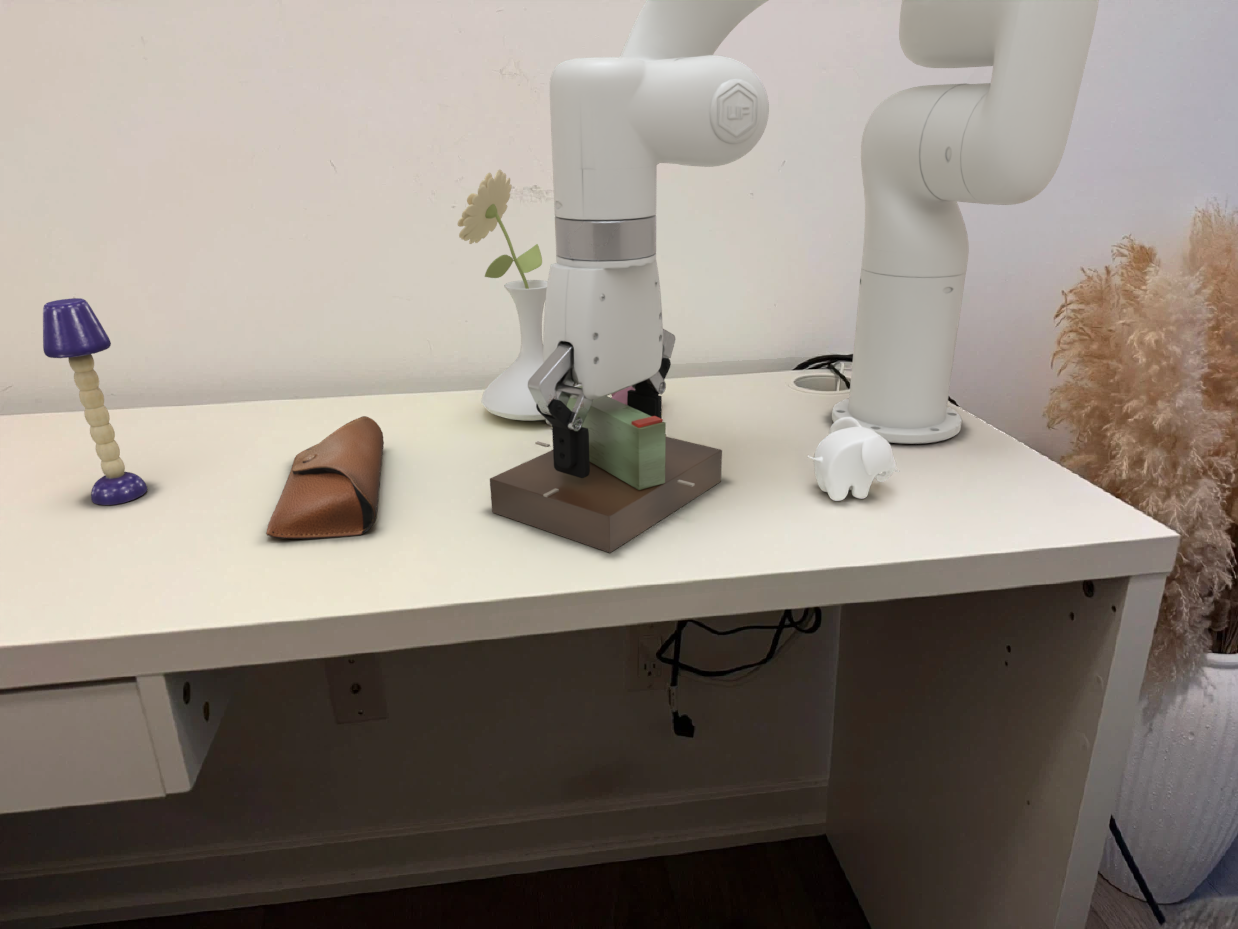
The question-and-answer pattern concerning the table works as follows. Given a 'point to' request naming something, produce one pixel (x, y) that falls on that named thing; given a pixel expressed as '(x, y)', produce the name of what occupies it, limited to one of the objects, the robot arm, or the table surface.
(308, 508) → the sunglasses case
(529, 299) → the flower in vase
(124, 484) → the toy lamp
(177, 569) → the table surface
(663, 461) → the green rectangular block
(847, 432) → the elephant figurine
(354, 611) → the table surface
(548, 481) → the base
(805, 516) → the table surface
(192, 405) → the table surface
